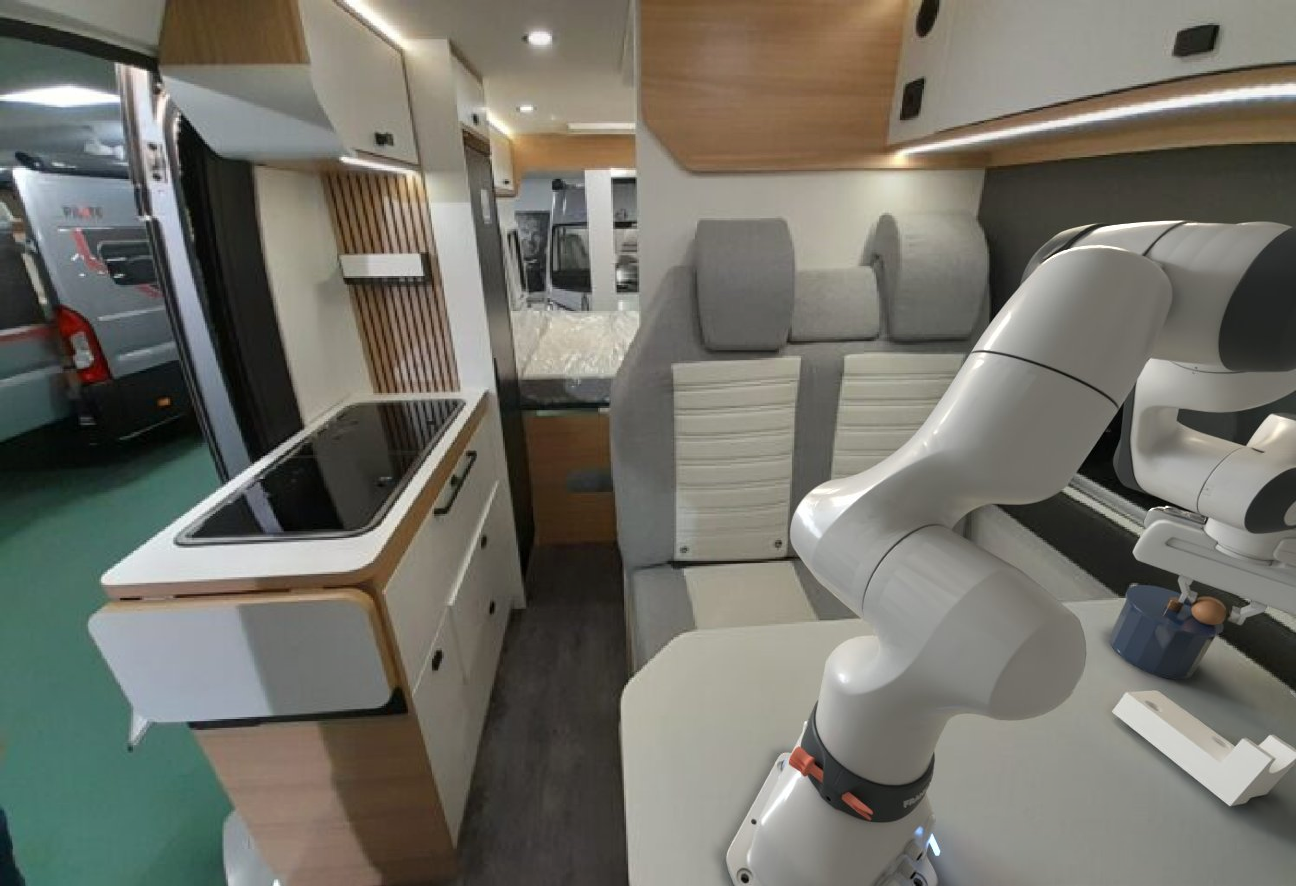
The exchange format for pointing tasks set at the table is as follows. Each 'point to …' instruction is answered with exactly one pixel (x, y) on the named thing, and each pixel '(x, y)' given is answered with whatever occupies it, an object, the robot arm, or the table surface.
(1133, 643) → the pot
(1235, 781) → the bracket
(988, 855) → the table surface
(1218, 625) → the pot lid
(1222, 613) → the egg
